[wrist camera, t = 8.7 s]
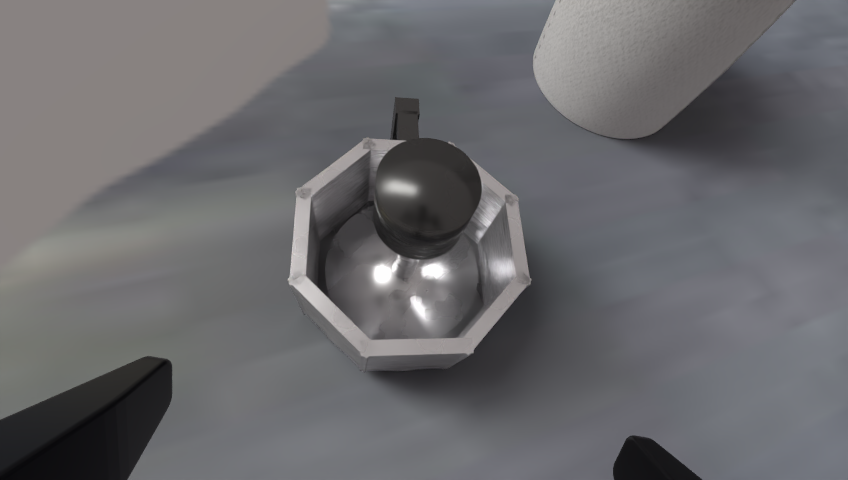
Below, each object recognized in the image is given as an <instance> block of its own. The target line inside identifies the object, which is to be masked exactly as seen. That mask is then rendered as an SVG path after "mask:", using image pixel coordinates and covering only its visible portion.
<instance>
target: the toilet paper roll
mask: <svg viewBox="0 0 848 480" xmlns="http://www.w3.org/2000/svg"><path fill="white" fill-rule="evenodd" d="M795 1H796V0H556V1H555V4H554V6H553V8H552V10H551V13H550V15H549V17H548V20H547V22H546V25H545V27H544V29H543V32H542V34H541V37H540V39H539V41H538V44H537V46H536V49H535V52H534V56H533V70H534V75H535V78H536V81H537V83H538V85H539V87H540V89H541V91H542V93H543V94H544V96H545V97H546V98H547V100H548V101H549V102H550V103H551V104H552V106H553V107H554V108H555V109H556V110H558V111H559V112H560V113H561V114H562V115H563V116H565V117H566V118H567V119H569V120H570V121H572V122H573V123H575V124H576V125H578V126H580V127H582V128H584V129H586V130H588V131H591V132H593V133H596V134H599V135H602V136H606V137H611V138H618V139H635V138H641V137H645V136H648V135H651V134H653V133H655V132H657V131H658V130H660V129H661V128H663V127H664V126H665V125H666V124H667V123H668V122H670V121H671V120H672V119H673V118H674V117H675V116H676V115H677V114H679V113H680V112H681V111H682V110H683V109H684V108H685V107H687V106H688V105H689V104H690V103H691V102H692V101H693V100H695V99H696V98H697V97H698V96H699V95H700V94H701V93H702V92H703V91H704V90H705V89H707V88H708V87H709V86H710V85H711V84H712V83H713V82H714V81H715V80H716V79H718V78H719V77H720V76H721V75H722V74H723V73H724V72H725V71H726V70H727V69H728V68H729V67H730V66H731V65H732V64H733V63H734V62H735V61H736V60H737V59H739V58H740V57H741V56H742V55H743V54H744V53H745V52H746V51H747V50H748V49H749V48H750V47H751V46H752V45H753V44H754V43H755V42H756V41H757V40H758V39H759V38H760V37H761V36H762V35H763V34H764V33H765V32H766V31H767V30H768V29H769V28H770V27H771V26H772V25H773V24H774V23H775V22H776V21H777V20H778V19H779V18H780V16H781V15H782V14H783V13H784V12H785V11H786V10H787V9H788V8H789V7H790V6H791V5H792V4H793V3H794V2H795Z"/></svg>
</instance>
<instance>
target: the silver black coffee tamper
mask: <svg viewBox="0 0 848 480" xmlns="http://www.w3.org/2000/svg"><path fill="white" fill-rule="evenodd" d="M481 194H482V183H481V178H480V175H479V172H478V170H477V168H476V166H475V165H474V163H473V162H472V161H471V159H470V158H469V157H468V156H467V155H466V154H465V153H464V152H462V151H461V150H460V149H458V148H457V147H455V146H453V145H451V144H449V143H447V142H444V141H441V140H437V139H431V138H417V139H411V140H407V141H404V142H402V143H400V144H398V145H396V146H395V147H393V148H392V149H390V150H389V151H388V152H387V153H386V154H385V156H384V157H383V158H382V160H381V162H380V164H379V166H378V169H377V173H376V183H375V196H374V206H371V207H368V208H366V209H364V210H362V211H360V212H359V213H357V214H356V215H354V216H353V217H352V218H350V219H349V220H348V221H347V222H346V223H345V224H344V225H343V226H342V227H341V228H340V230H339V231H338V233H337V234H336V236H335V237H334V239H333V241H332V243H331V245H330V248H329V251H328V254H327V259H326V265H325V277H326V285H327V289H328V293H329V297H330V299H331V301H332V302H333V303H334V304H335V305H336V306H337V307H338V308H339V309H340V310H341V311H342V312H343V313H344V314H345V315H346V316H347V317H348V318H349V319H350V320H351V321H352V322H353V323H354V324H355V325H356V326H357V327H358V328H359V329H360V330H361V331H362V332H363V333H364V334H365V335H366V336H367V337H368V338H369V339H370V340H389V339H432V338H441V337H443V336H444V335H446V334H447V333H449V332H450V331H451V330H452V329H453V328H454V327H455V326H457V325H458V324H459V322H460V321H461V320H462V319H463V318H464V316H465V315H466V313H467V312H468V310H469V309H470V307H471V304H472V302H473V300H474V297H475V293H476V289H477V282H478V270H477V263H476V259H475V255H474V252H473V250H472V247H471V245H470V243H469V241H468V239H467V238H466V236H465V235H464V233H463V232H464V230H465V228H466V227H467V225H468V223H469V221H470V219H471V218H472V216H473V214H474V212H475V211H476V209H477V207H478V205H479V202H480V199H481Z"/></svg>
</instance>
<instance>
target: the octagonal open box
mask: <svg viewBox="0 0 848 480" xmlns="http://www.w3.org/2000/svg"><path fill="white" fill-rule="evenodd" d="M419 115H420V114H419V99H411V98H396V97H395V104H394V113H393V121H392V129H391V138H390V140H384V139H369V138H368V137H367V138H366V139H364V138H363V141H362V142H361V143H359V144H358V145H357V146H355V147H354V148H353V149H351V150H350V151H349V152H347V153H346V154H345V155H343V156H342V157H341V158H339V159H338V160H337V161H336V162H334V163H333V164H332V165H330V166H329V167H328V168H326V169H325V170H324V171H322V172H321V173H320V174H318V175H317V176H316V177H314V178H313V179H312V180H310V181H309V182H308V183H306V184H305V185H304V186H302V187H301V188H297V191H296V192H295V195H296V210H295V222H294V234H293V246H292V258H291V270H290V278H289V279H288V282H289V286H290V288H291V290H292V292H293V294H294V296H295V298H296V300H297V302H298V304H299V306H300V308H301V310H302V312H303V314H304V315H307V316H308V317H309V318H310V319H311V320H312V321H313V322H314V323H315V324H316V325H317V326H318V327H319V328H320V329H321V330H322V331H323V332H324V333H325V335H326V336H327V337H328V338H329V339H330V341H331V342H332V343H333V344H334V345H335V346H336V347H337V348H339V349H340V350H341V351H342V352H343V353H345V354H346V355H347V356H348V357H349V358H350V359H351V360H352V361H353V362H354V363H355V364H356V365H357V366H358V367H359V368H360V371H363V372H364V373H365V372H366V371H379V370H387V371H412V370H418V369H437V368H442V369H443V370H445V369H447V368H449V367H451V366H453V365H454V364H456V363H458V362H460V361H461V360H463V359H465V358H466V357H468V356H470V355H471V354H473V353H474V349H475V347H476V346H477V345H478V344H479V343H480V341H481V340H482V339H483V338H484V337H485V335H486V334H487V333H488V332H489V331H490V329H491V328H492V327H493V326H494V325H495V323H496V322H497V321H498V320H499V319H500V317H501V316H502V315H503V314H504V313H505V311H506V310H507V309H508V308H509V307H510V305H511V304H512V303H513V302H514V301H515V299H516V298H517V297H518V296H519V295H520V293H521V292H522V291H523V290H524V289H526V288H527V287H528V286H529V285H531V283H530V281H531V280H532V279H531V278H530V277H529V270H528V264H527V258H526V251H525V245H524V238H523V232H522V226H521V219H520V213H519V207H518V200H519V199H518V198H517V195H514V194H512V193H511V192H510V191H509V190H508V189H506V188H505V187H504V186H503V185H501V184H500V183H499V182H498V181H497V180H495V179H494V178H493V177H492V176H491V175H489V174H488V173H487V172H486V171H485V170H483V169H482V168H481V167H480V166H479V165H477V164H476V163H475V162H474V161H473V160H471V161H472V162H473V163H474V165H475V166H476V168H477V170H478V172H479V175H480V178H481V183H482V194H481V199H480V202H479V205H478V207H477V209H476V211H475V212H474V214H473V216H472V218H471V219H470V221H469V223H468V225H467V227H466V228H465V230H464V232H463V233H464V235H465V236H466V238H467V239H468V241H469V243H470V245H471V247H472V250H473V252H474V255H475V259H476V263H477V270H478V282H477V289H476V293H475V297H474V300H473V302H472V304H471V307H470V309H469V310H468V312H467V313H466V315H465V316H464V318H463V319H462V320H461V321H460V322H459V324H458V325H457V326H455V327H454V328H453V329H452V330H451V331H450V332H449V333H447V334H446V335H444V336H443V337H441V338H432V339H389V340H370V339H369V338H368V337H367V336H366V335H365V334H364V333H363V332H362V331H361V330H360V329H359V328H358V327H357V326H356V325H355V324H354V323H353V322H352V321H351V320H350V319H349V318H348V317H347V316H346V315H345V314H344V313H343V312H342V311H341V310H340V309H339V308H338V307H337V306H336V305H335V304H334V303H333V302H332V301H331V299H330V297H329V293H328V289H327V285H326V277H325V265H326V259H327V254H328V251H329V248H330V245H331V243H332V241H333V239H334V237H335V236H336V234H337V233H338V231H339V230H340V228H341V227H342V226H343V225H344V224H345V223H346V222H347V221H348V220H349V219H350V218H352V217H353V216H354V215H356V214H357V213H359V212H360V211H362V210H364V209H366V208H368V207H371V206H374V196H375V183H376V173H377V169H378V166H379V164H380V162H381V160H382V158H383V157H384V156H385V154H386V153H387V152H388V151H389V150H390V149H392V148H393V147H395V146H396V145H398V144H400V143H402V142H404V141H407V140H411V139H417V138H419V132H418V119H419ZM448 143H449V144H451V145H453V146H455V145H454V143H451V142H450V141H449V142H448ZM455 147H456V146H455Z"/></svg>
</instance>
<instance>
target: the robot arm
mask: <svg viewBox="0 0 848 480" xmlns="http://www.w3.org/2000/svg"><path fill="white" fill-rule="evenodd" d="M171 398H172V364H171V362H170V360H168V359H164V358H158V357H152V356H147V357H143V358H141V359H138V360H136V361H134V362H131V363H129V364H127V365H125V366H122V367H120V368H118V369H115V370H113V371H111V372H109V373H106V374H104V375H102V376H99V377H97V378H95V379H93V380H90V381H88V382H86V383H83V384H81V385H79V386H76V387H74V388H72V389H70V390H67V391H65V392H63V393H60V394H58V395H56V396H54V397H51V398H49V399H47V400H44V401H42V402H40V403H38V404H35V405H33V406H31V407H28V408H26V409H24V410H22V411H19V412H17V413H15V414H12V415H10V416H8V417H5V418H3V419H1V420H0V480H127V479H128V478H129V476H130V474H131V472H132V471H133V469H134V467H135V465H136V464H137V462H138V460H139V458H140V457H141V455H142V453H143V451H144V449H145V448H146V446H147V444H148V442H149V441H150V439H151V437H152V435H153V434H154V432H155V430H156V428H157V427H158V425H159V423H160V421H161V420H162V418H163V416H164V414H165V412H166V411H167V409H168V407H169V405H170V402H171ZM613 476H614V480H702V479H701V478H700V477H698V476H697V475H696V474H695V473H693V472H692V471H691V470H690V469H688V468H687V467H686V466H685V465H683V464H682V463H681V462H680V461H679V460H677V459H676V458H675V457H674V456H672V455H671V454H670V453H669V452H667V451H666V450H665V449H664V448H662V447H661V446H660V445H659V444H657V443H656V442H655V441H654V440H652V439H650V438H646V437H640V436H629V437H628V438H627V439H626V441H625V443H624V445H623V447H622V449H621V451H620V453H619V455H618V457H617V459H616V461H615V463H614V467H613Z"/></svg>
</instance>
